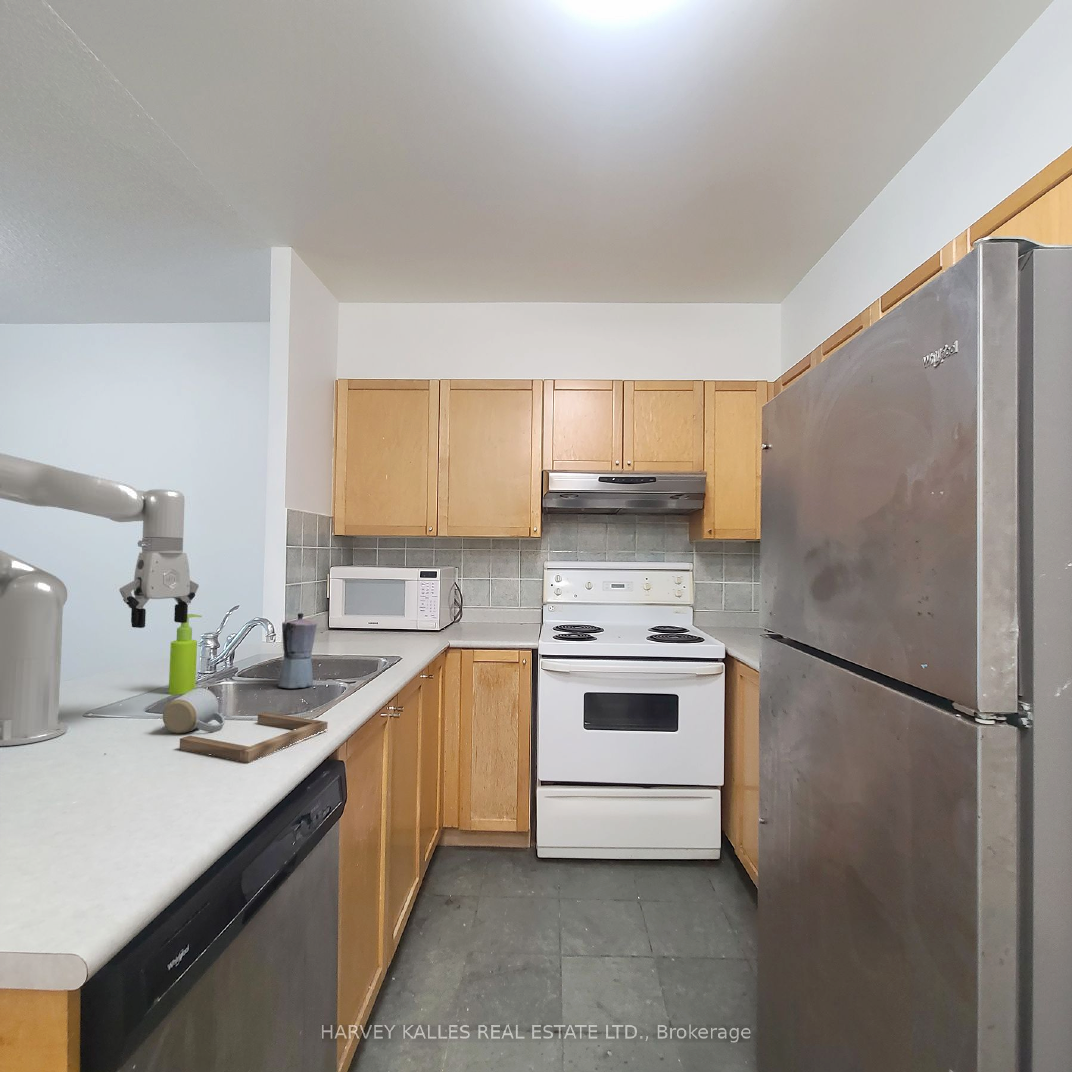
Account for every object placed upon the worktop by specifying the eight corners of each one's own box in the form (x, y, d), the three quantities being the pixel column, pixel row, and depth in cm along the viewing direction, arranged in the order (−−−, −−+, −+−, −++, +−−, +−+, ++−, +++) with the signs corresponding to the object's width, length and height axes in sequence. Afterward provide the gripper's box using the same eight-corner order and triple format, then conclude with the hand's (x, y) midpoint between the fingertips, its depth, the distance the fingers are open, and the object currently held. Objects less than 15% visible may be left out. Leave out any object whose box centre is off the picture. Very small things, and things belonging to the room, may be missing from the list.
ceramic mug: (158, 734, 116) (160, 696, 116) (183, 722, 124) (185, 686, 124) (210, 737, 116) (212, 698, 116) (232, 725, 124) (234, 689, 124)
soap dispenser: (203, 690, 152) (206, 614, 153) (176, 696, 146) (179, 616, 147) (191, 687, 155) (194, 612, 156) (163, 692, 149) (167, 615, 150)
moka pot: (322, 680, 167) (325, 611, 168) (303, 693, 151) (305, 617, 152) (289, 680, 167) (291, 610, 167) (266, 693, 151) (268, 616, 152)
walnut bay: (248, 763, 102) (248, 751, 102) (179, 749, 108) (179, 738, 108) (327, 731, 120) (327, 721, 120) (264, 721, 126) (265, 712, 126)
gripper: (135, 546, 117) (132, 630, 117) (210, 547, 133) (207, 621, 133) (110, 545, 120) (107, 628, 119) (186, 546, 136) (183, 619, 135)
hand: (160, 624), depth 126 cm, fingers open, 9 cm apart
